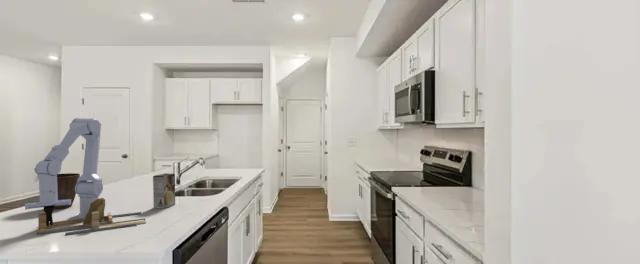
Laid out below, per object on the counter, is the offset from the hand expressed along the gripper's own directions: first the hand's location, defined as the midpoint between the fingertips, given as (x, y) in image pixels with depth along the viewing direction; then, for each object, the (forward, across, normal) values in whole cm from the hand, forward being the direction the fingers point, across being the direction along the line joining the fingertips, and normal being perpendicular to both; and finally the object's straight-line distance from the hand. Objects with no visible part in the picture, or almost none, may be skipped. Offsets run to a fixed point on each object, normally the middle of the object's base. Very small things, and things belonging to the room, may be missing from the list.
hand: (49, 224), depth 143 cm
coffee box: (+2, +46, +17) cm, 49 cm away
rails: (+2, +15, -3) cm, 15 cm away
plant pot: (+2, +3, +41) cm, 41 cm away
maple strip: (+2, +24, -10) cm, 25 cm away
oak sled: (+2, +9, 0) cm, 9 cm away
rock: (+2, +14, 0) cm, 15 cm away
